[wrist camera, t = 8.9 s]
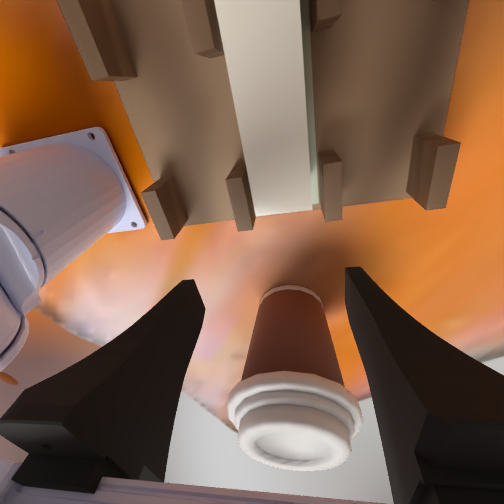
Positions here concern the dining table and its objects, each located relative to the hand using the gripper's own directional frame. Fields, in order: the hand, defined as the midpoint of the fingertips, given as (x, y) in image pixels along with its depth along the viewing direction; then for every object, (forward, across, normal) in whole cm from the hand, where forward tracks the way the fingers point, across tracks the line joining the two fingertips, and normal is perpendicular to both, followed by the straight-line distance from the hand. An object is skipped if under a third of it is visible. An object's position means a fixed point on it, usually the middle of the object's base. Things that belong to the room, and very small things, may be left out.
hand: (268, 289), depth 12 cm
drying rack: (+9, -1, -7) cm, 12 cm away
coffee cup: (+10, 0, +11) cm, 15 cm away
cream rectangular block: (+8, -1, -7) cm, 11 cm away
